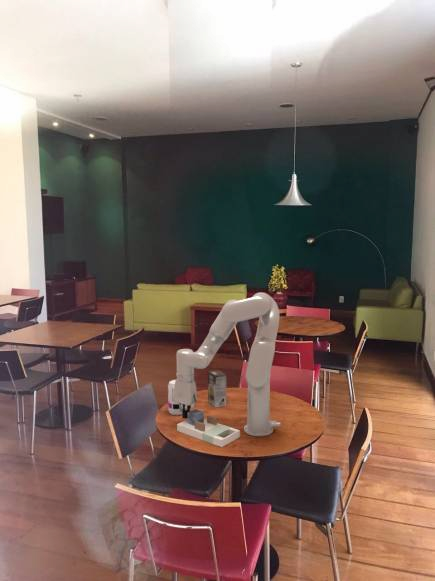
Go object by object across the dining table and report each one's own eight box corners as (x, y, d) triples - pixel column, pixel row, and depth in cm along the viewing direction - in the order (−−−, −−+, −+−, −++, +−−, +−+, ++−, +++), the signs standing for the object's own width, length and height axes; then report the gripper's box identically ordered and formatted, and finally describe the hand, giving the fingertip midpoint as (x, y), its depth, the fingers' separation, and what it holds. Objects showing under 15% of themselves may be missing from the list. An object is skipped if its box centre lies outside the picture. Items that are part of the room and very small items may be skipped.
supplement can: (165, 413, 223) (164, 383, 221) (174, 407, 230) (174, 378, 228) (179, 416, 219) (179, 385, 217) (188, 410, 226) (188, 380, 224)
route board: (239, 437, 197) (239, 423, 196) (221, 447, 187) (221, 433, 187) (195, 422, 212) (195, 409, 212) (177, 430, 203) (176, 417, 203)
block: (203, 422, 204) (203, 411, 204) (196, 426, 201) (196, 415, 200) (195, 419, 208) (195, 409, 207) (187, 423, 204) (187, 412, 203)
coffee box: (207, 401, 238) (207, 371, 236) (219, 399, 241) (218, 369, 239) (215, 407, 230) (214, 375, 228) (226, 405, 232) (226, 374, 230)
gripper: (167, 376, 207) (168, 416, 210) (192, 382, 198) (192, 424, 200) (179, 372, 213) (180, 411, 215) (203, 378, 203) (204, 419, 206)
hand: (186, 417), depth 208 cm, fingers closed
